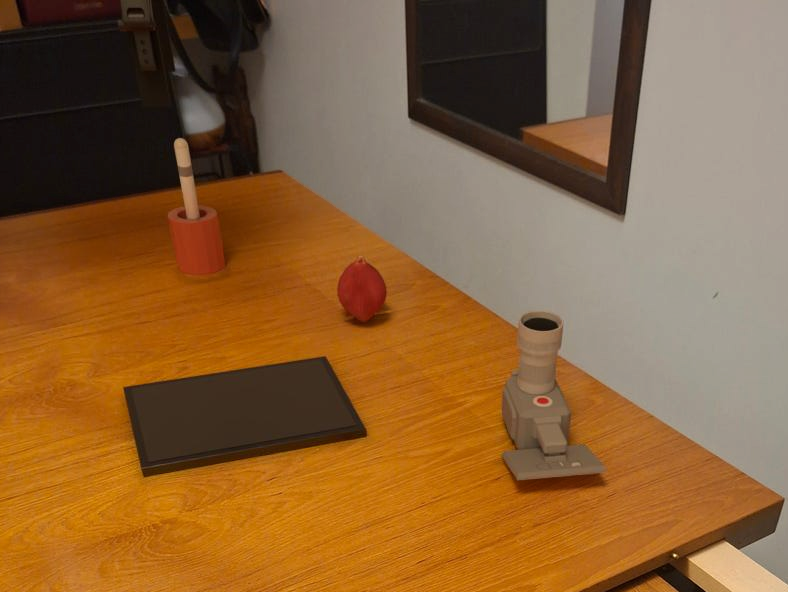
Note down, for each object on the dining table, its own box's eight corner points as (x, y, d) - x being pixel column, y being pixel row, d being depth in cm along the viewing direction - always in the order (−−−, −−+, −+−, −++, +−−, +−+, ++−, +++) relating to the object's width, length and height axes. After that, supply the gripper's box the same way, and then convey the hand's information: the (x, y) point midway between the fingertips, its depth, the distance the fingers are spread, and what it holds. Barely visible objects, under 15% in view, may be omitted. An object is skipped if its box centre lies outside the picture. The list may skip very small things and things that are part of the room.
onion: (330, 319, 110) (324, 253, 104) (367, 306, 113) (363, 241, 107) (359, 336, 107) (354, 269, 101) (396, 322, 110) (394, 256, 104)
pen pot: (175, 262, 120) (164, 207, 115) (221, 257, 122) (212, 203, 117) (182, 280, 116) (170, 225, 111) (229, 275, 118) (220, 219, 113)
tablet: (125, 395, 96) (122, 386, 95) (326, 363, 102) (325, 355, 101) (143, 477, 85) (140, 467, 85) (366, 436, 91) (365, 427, 91)
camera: (576, 303, 88) (621, 381, 78) (563, 408, 97) (603, 491, 86) (489, 307, 87) (524, 388, 77) (484, 414, 95) (515, 499, 85)
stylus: (194, 262, 119) (171, 136, 106) (206, 260, 119) (185, 135, 106) (196, 269, 118) (174, 142, 105) (209, 267, 118) (188, 141, 106)
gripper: (144, -171, 72) (194, 122, 87) (158, -191, 89) (198, 57, 104) (45, -175, 71) (113, 124, 86) (79, -194, 88) (130, 58, 103)
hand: (160, 88), depth 95 cm, fingers open, 13 cm apart
